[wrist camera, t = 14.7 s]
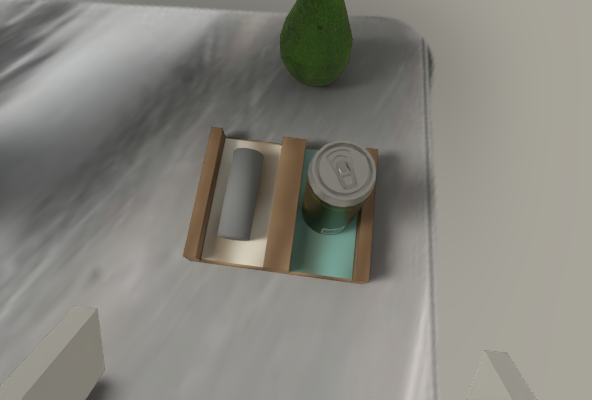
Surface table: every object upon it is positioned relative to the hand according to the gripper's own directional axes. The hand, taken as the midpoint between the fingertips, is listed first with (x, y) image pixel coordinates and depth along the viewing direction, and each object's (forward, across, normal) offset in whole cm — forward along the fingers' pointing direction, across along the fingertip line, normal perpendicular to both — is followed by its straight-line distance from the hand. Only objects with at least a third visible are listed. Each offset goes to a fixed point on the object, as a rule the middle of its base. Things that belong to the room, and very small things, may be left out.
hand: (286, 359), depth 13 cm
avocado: (+39, 0, +7) cm, 40 cm away
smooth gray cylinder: (+27, -6, -5) cm, 28 cm away
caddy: (+28, -2, -6) cm, 29 cm away
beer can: (+27, +3, -6) cm, 28 cm away
